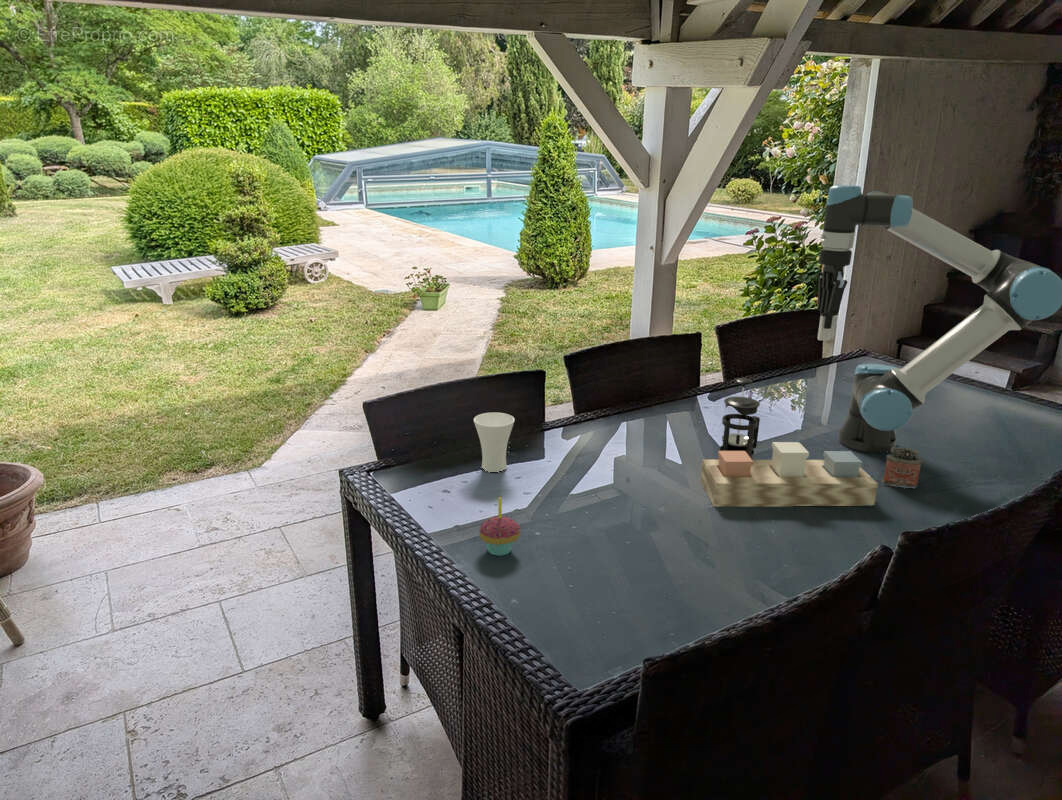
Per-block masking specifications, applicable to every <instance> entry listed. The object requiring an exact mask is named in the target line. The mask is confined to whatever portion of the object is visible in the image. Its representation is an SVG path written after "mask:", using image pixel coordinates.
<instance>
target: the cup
mask: <svg viewBox="0 0 1062 800" xmlns="http://www.w3.org/2000/svg"><path fill="white" fill-rule="evenodd" d="M515 419H516V418H514V416H513V415H510V414H508V413H504V412H495V411H494V412H485V413H480V414H478V415H475V417H474V418H473V423H474V427H475V428H476V431H477V436H478V437H479V442H480V446H481V447H480V448H481V456H482V458H481V459H482V460H481V461H482V462H481V469H482V468H483V469H484V470H486V471H489V472H488V473H490V472H498V473H500V472H499V471H502V470H505V469H506V467H507V449H508V448H507V447H508V443H509V440H510V436H511V432H512V430H513V427H514V423H515V421H516V420H515ZM507 468H508V467H507ZM484 470H483V471H484ZM506 470H507V469H506ZM506 470H505V471H506ZM486 471H485V472H486ZM502 472H503V471H502Z"/></svg>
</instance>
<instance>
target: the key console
mask: <svg viewBox="0 0 1062 800" xmlns="http://www.w3.org/2000/svg"><path fill="white" fill-rule="evenodd" d="M752 461H753V466H751V471H750V477H723V475H722V474H721V472H720V470H719V469H718V464H719V460H718V459H702V460H701V469H700V471H701V472H700V479H699V480H700V481H699V482H700V484H701V485H702V487H703V489H704V491H705V493H706V494H707V496H708V498H709V500H710V501H711V503H712V505H713V507H715V508H717V507H718V508H719V507H720V508H721V507H724V508H726V507H730V508H733V507H734V508H736V507H737V508H739V507H740V508H741V507H743V508H745V507H746V508H749V507H750V508H751V507H752V508H753V507H754V508H755V507H756V508H757V507H758V508H760V507H762V508H763V507H767V508H771V507H772V508H774V507H775V508H776V507H777V508H780V507H781V508H784V507H785V508H789V507H791V508H794V507H793V506H860V505H874V506H875V503H876V497H877V490H878V486H879V485H878V484H879V483H878V482H877V481H876V480H874V479H873V477H871V475H869V474H868V473H867V472H866V471H865V470H864V469H863V468H862V466H861V467H859V473H858V477H831V475H830V474H829V473H828V472H827V471H826V470H825V469H824V468H823V465H824V459H806V466H805V473H804V477H779V476H778V475H777V474H776V473H775V471H774V470H773V469H772V468H771V462H772V459H753V460H752Z"/></svg>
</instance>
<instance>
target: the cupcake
mask: <svg viewBox="0 0 1062 800" xmlns="http://www.w3.org/2000/svg"><path fill="white" fill-rule="evenodd" d="M498 495H499V497H498V499H497V500H498V505H497V507H498V508H497V509H498V515H497V516H493V517H489V518H488V519H487V520H485V521H483V523H481V525H480V527H479V538H480V539H481V540H482V541H483V542H484V543H485V546H486V548H487V552H488V553H489V554H491V555H493V556H499V557H501V556H506V555H508V554H509V553H511V551H512V548H513V544H514V543H515V542H516V541H517V540H518V539H519V538H520V536H521V533H522V531H521V529H522V528H521V526H520V525H519V524H518V522H517V521H515V519H513V518H511V517H508V516H503V515H502V514H503V513H502V508H503V507H502V503H503V501H502V496H501V493H499V494H498Z"/></svg>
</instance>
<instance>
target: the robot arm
mask: <svg viewBox="0 0 1062 800" xmlns="http://www.w3.org/2000/svg"><path fill="white" fill-rule="evenodd" d="M825 205H826V206H825V211H824V220H823V228H822V234H821V235H820V239H821V245H820V246H821V247H822V248H820V250H819V256H818V263H819V264H820V265H823V268H822V272H817V279H818V281H817V282H818V286H817V287H818V288H817V311H819V314H820V317H819V324H818V325H819V326H818V331H817V340H818V341H828V342H829V341H830V340H831V334H832V333H831V332H832V328H833V321H834V320H833V319H834V317H835V316H838V315H839V312H840V308H841V304H842V301H843V296H844V292H845V290H846V286H847V284H848V279H846V280H845V279H844V267H848V266H849V265H850V264H851V261H852V253H853V252H852V250H851V249H852V248H854V243H855V236H856V228H857V226H869V227H881V228H882V229H885V230H886V231H889V232H890V233H892V234H894V235H895V236H897V237H898V238H900V239H903V240H904V241H906V242H908V243H910V244H912V245H913V246H916V247H917V248H918V249H921V250H923V251H924V252H926V253H928V254H929V255H931V256H933V257H934V258H937V259H939V260H940V261H942V262H944V263H946V264H948V265H950V266H951V267H952V268H954V269H957V270H958V271H961V272H962V273H964V274H966V275H967V276H969V277H971V281H972V283H974V284H976V285H977V286H979V287H981V288H982V289H984V290H985V291H986V292H987V293H985V295H984V299H983V303H982V305H981V306H979V307H978V308H977V309H975V310H974V311H972V312H971V314H969V315H968V316H966V317H965V318H964V319H963V320H962V321H961V322H959V323H957V324H956V325H955V326H954V327H952V328H951V329H950V330H949V331H948V332H946V333H945V334H944V335H942V336H941V337H940V338H939V339H938V340H935V341H934V342H933V343H932V344H931V345H930V346H928V347H927V348H926V349H924V351H922V352H920V354H918V355H917V356H915V357H914V358H913V359H912V360H911V361H909V362H908V363H906V364H905V365H904V366H903V367H901V368H899V367H896V366H892V365H885V364H877V363H876V364H875V363H862V364H858V365H857V366H856V368H855V372H854V374H853V377H854V378H853V382H852V383H853V384H852V391H851V397H850V402H849V409H848V410H849V411H848V415H847V416H846V418H845V420H844V422H843V424H842V426H841V428H840V429H839V431H838V437H837V440H838V442H839V443H840V444H841V445H843V446H845V447H847V448H849V449H852V450H854V451H855V450H856V451H859V452H864V453H873V454H883V453H882V452H885V453H888V452H887V451H890V452H891V448H892V447H896V446H897V437H896V431H895V430H898V429H901V428H902V427H904V426H905V425H906V424H907V423H908V422H909V421H910V419H911V417H912V415H913V411H915V410H916V409H918V407H920V406H921V405H922V404H924V403H925V398H926V394H927V393H928V392H930V391H931V390H932V389H933V388H935V387H936V386H938V385H939V384H940V383H942V382H943V381H944V380H945V379H947V378H948V377H949V376H950V375H952V374H954V372H956V371H958V369H960V368H961V367H963V366H964V365H966V363H968V362H969V361H971V360H972V359H973V358H974V357H976V356H977V355H978V354H980V353H981V352H983V351H984V350H985V349H986V348H988V347H989V346H990V345H992V344H993V343H994V342H996V341H997V340H999V339H1000V338H1001V337H1002V336H1003V335H1005V334H1006V333H1007V332H1009V331H1021V330H1022V329H1024V328H1026V327H1027V326H1028V325H1029V324H1030V323H1032V322H1033V321H1039V320H1044V319H1047V318H1049V317H1051V316H1052V315H1054V314H1056V313H1057V311H1058V310H1059V309H1060V308H1061V306H1062V278H1060V276H1059V275H1057V274H1056V273H1055V272H1054V271H1052V270H1051V269H1050V268H1047V267H1044V266H1040V265H1038V264H1035V263H1033V262H1030V261H1026V260H1023V259H1021V258H1018V257H1014V256H1012V255H1009V254H1007V253H1005V252H1003V251H1002V250H1000V249H994V250H990V249H989V248H987V247H984V246H983V245H982V244H980V243H977V242H975V241H973V240H972V239H970V238H968V237H967V236H964V235H963V234H961V233H959V232H958V231H955V230H954V229H952V228H950V227H948V226H946V225H945V224H942V223H941V222H939V221H937V220H935V219H933V218H931V217H929V216H928V215H927V214H924V213H923V212H920V211H919V210H916V209H915V208H914V207H913V206H914V201H913V198H912V197H911V196H909V195H901V194H888V193H886V192H885V191H881V190H875V191H871V192H869V193H862V188H861V186H859V185H848V184H834V185H832V186H830V188H829V190H828V194H827V199H826V204H825Z"/></svg>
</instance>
